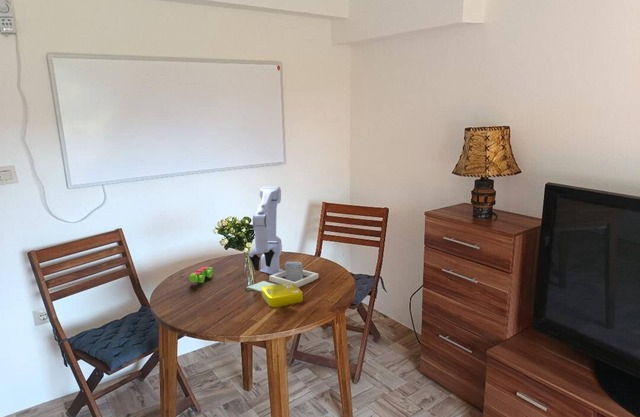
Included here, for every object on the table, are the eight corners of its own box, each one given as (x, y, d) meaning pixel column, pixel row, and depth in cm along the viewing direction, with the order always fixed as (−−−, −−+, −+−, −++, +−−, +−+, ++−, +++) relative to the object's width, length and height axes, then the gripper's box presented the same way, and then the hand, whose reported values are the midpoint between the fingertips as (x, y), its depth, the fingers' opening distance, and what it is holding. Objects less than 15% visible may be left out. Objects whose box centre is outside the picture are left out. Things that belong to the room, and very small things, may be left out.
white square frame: (269, 280, 211) (269, 276, 210) (293, 271, 223) (292, 267, 223) (295, 288, 200) (295, 283, 200) (318, 278, 213) (318, 273, 212)
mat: (247, 287, 202) (247, 286, 202) (263, 281, 210) (263, 280, 210) (262, 292, 196) (262, 291, 196) (278, 286, 203) (278, 285, 203)
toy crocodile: (205, 272, 224) (204, 261, 223) (216, 273, 223) (216, 262, 222) (184, 286, 206) (183, 273, 204) (197, 287, 204) (196, 274, 203)
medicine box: (303, 278, 213) (302, 261, 211) (300, 281, 209) (300, 264, 207) (287, 277, 215) (287, 261, 213) (285, 280, 210) (284, 263, 209)
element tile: (260, 295, 193) (260, 285, 192) (292, 290, 199) (292, 280, 198) (270, 308, 179) (270, 297, 179) (304, 302, 185) (304, 291, 184)
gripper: (255, 244, 190) (256, 274, 193) (278, 238, 202) (279, 265, 204) (244, 242, 195) (246, 271, 197) (268, 235, 206) (269, 263, 208)
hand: (262, 268), depth 201 cm, fingers open, 7 cm apart
